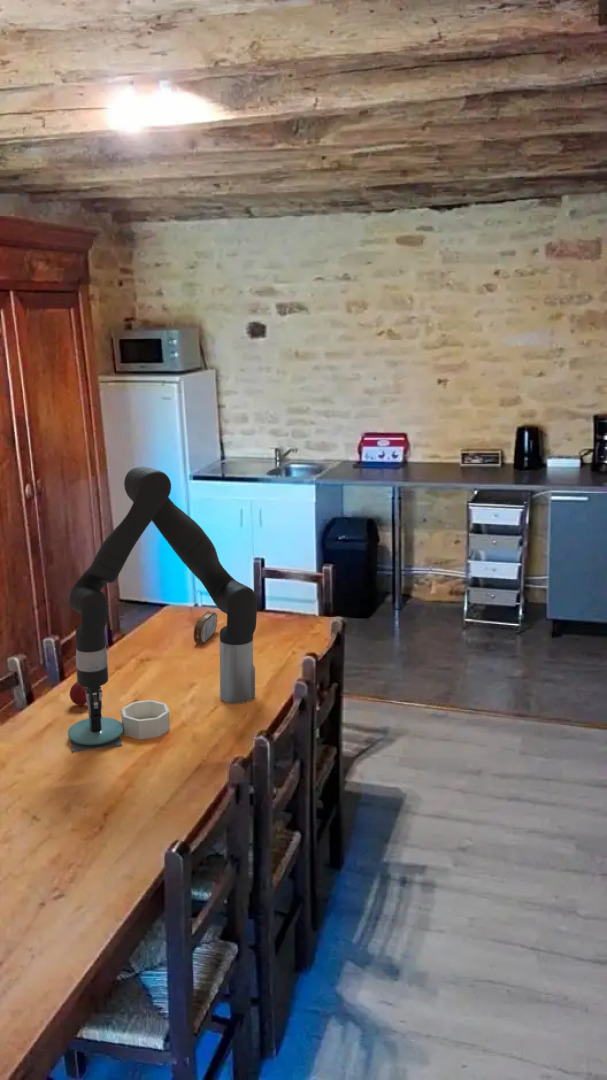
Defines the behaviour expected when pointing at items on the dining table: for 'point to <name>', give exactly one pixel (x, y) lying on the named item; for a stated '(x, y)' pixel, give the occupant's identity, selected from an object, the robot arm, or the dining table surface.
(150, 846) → the dining table surface
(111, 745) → the mat
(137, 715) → the bowl
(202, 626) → the tin
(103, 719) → the lid
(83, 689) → the onion
